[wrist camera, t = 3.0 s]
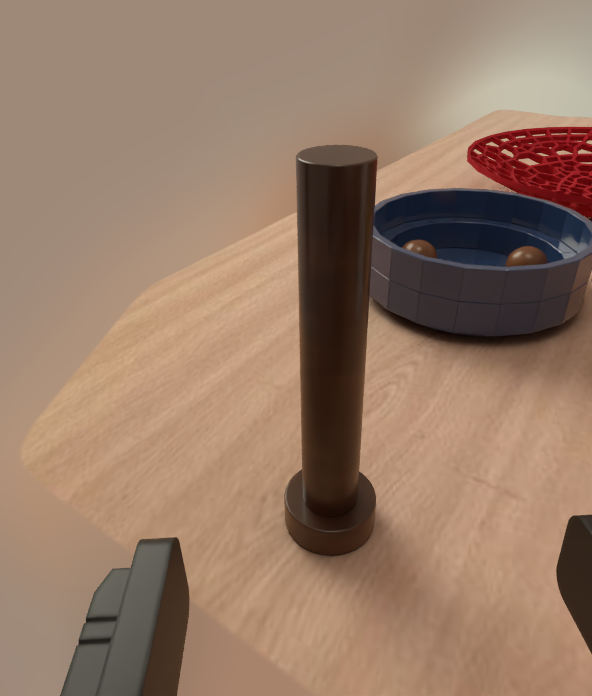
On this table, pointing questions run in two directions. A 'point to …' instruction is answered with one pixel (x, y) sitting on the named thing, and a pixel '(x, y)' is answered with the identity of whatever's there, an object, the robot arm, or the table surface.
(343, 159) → the capped post on base
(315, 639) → the table surface
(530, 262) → the hazelnut
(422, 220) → the blue bowl
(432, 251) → the hazelnut
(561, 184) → the bowl
